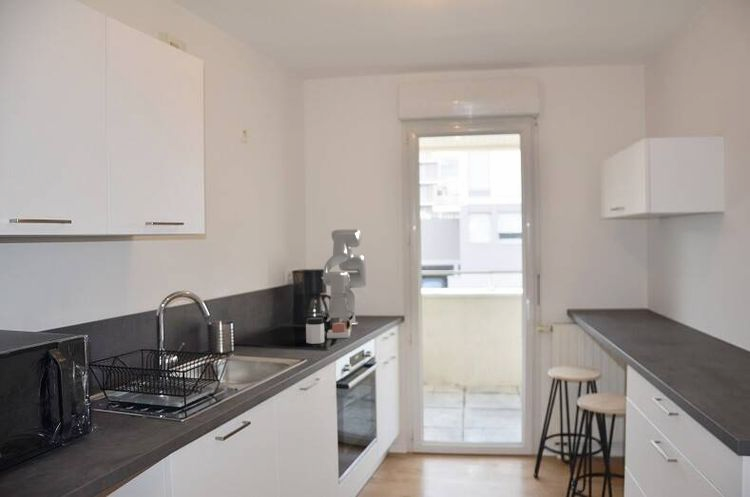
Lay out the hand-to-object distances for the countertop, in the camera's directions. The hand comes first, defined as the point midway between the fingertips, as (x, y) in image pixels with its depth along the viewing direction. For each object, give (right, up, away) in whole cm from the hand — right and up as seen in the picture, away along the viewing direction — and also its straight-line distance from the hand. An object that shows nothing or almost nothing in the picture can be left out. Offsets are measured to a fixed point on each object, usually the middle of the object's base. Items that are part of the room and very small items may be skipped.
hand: (338, 328), depth 315 cm
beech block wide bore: (+3, -4, +18) cm, 19 cm away
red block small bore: (0, -4, 0) cm, 4 cm away
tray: (0, -4, 0) cm, 4 cm away
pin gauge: (+3, -4, +18) cm, 19 cm away
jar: (-10, -5, -18) cm, 21 cm away
